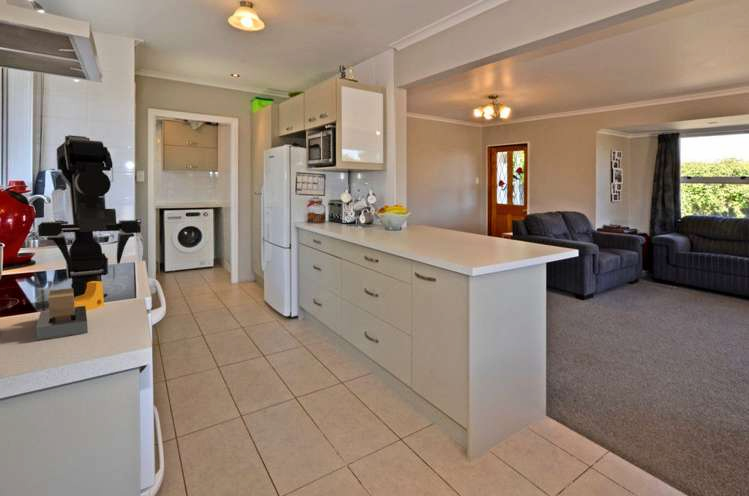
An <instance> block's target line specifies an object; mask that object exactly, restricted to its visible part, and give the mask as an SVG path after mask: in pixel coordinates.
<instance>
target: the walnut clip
mask: <svg viewBox="0 0 749 496" xmlns="http://www.w3.org/2000/svg"><path fill="white" fill-rule="evenodd" d="M47 300H48V310H49V311H50V317H55V322H56V323H58V322H66V321H71V319H70V315H72V314H75V304H74V292H73V288H72V287H71V288H60V289H51V290H49V292H48V299H47Z"/></svg>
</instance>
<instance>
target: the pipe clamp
mask: <svg viewBox="0 0 749 496" xmlns="http://www.w3.org/2000/svg"><path fill="white" fill-rule="evenodd" d="M103 283H104V282H103V280H102V281H91V282H88V283H87V288H86V292H85V294H83V295H80V296H76V297H75V298H74V304H75V307H79V306H85V307H86V311H87V312H89V311H88V310H90V311H92V309H93V310H95V308H96V309H99V308H101V307H104V306H105V299H104V297H105V296H103V294H104V286H103V285H104V284H103ZM100 306H101V307H100ZM98 307H99V308H98Z"/></svg>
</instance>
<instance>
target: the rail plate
mask: <svg viewBox="0 0 749 496" xmlns="http://www.w3.org/2000/svg"><path fill="white" fill-rule="evenodd" d="M70 319H71V321H66V322H58V323H56V322H55V317H50V311H49V309H48V310H47V309H46V310H41V311H40V313H39V317H38V320H37V324H36V327H35V329H36V339H37V340H36V341H41V340H47V339H48V340H49V339H55V338H60V337H67V336H73V335H74V336H75V335H80V334H81V335H82V334H87V333H88V332H89V329H88V318H87V312H86V307H85V306H79V307H75V314H72V315H70Z"/></svg>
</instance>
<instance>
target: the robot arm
mask: <svg viewBox="0 0 749 496" xmlns="http://www.w3.org/2000/svg"><path fill="white" fill-rule="evenodd" d="M112 159H113V158H112V156H111V152H110V151H109V149H108V147H107V146H104V143H103V142H102V141H99V140H90V138H89V137H87V136H82V135H81V136H79V135H70V134H69V135H65V136H64V142H63V143H62V144H61V145H59V146H58V147H57V148H56V166H57V167H56V168H57V170H58V171H60V175H61V176H60V177H61V179H62V180H63V181H64V183H65V184H66V185H67V186H68V187H69V194H70V206H71V214H72V224H69V223H68V224H63V223H62V221H41V223H39V224H38V225H37V232H38V233H37V234H38V237H46V240H47V241H53V242H54V243H55V244H56V246H57V248H58V249H59V251H60V252H61V254H62V256H63V259H64V261H65V262H66V263H65V267H66V277H67V279H69V280H71V285H70V286H71V288H73V292H74V298H75V297H76V296H80V295H83V294H85V292H86V288H87V283H88V282H91V281H102V282H103V279H102V276H106V275H109V267H108V266H109V264H108V263H109V258H108V257H107V256H106V254H105V252H103V249H102V246H101V244H100V242H98V241H97V240H96V239H95V238H94V232H96V233H97V232H115V231H116V232H119V233H117V245H116V247H117V248H116V263H117V264H118V265H119V264H120V263H121V261H122V256H123V253H124V250H125V248H126V245H127V244H128V241H129V240H130V238H131V237H132V238H133V237H135V234H138V233H139V234H140V233H141V230H142V229H141V223H140V222H139V221H137V220H136V219H135V220H134V219H130V220H128V219H125V220H121V219H118V223H117V212H116V208H107V207H106V194H107V193H108V192H109V191H110V189H111V185H112V184H111V180H110V177H109V176H108V175H107V174H106V173H105V171H106V172H111V170H112V169H113V165H114V164H113V160H112ZM64 233H73V234H74V235H73V236H74V241H73V242H72V244H71V245H70V247H69V248H68V245H67V240H66V237H65V235H64ZM103 296H104V297H107V296H109V295H108V293H103Z"/></svg>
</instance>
